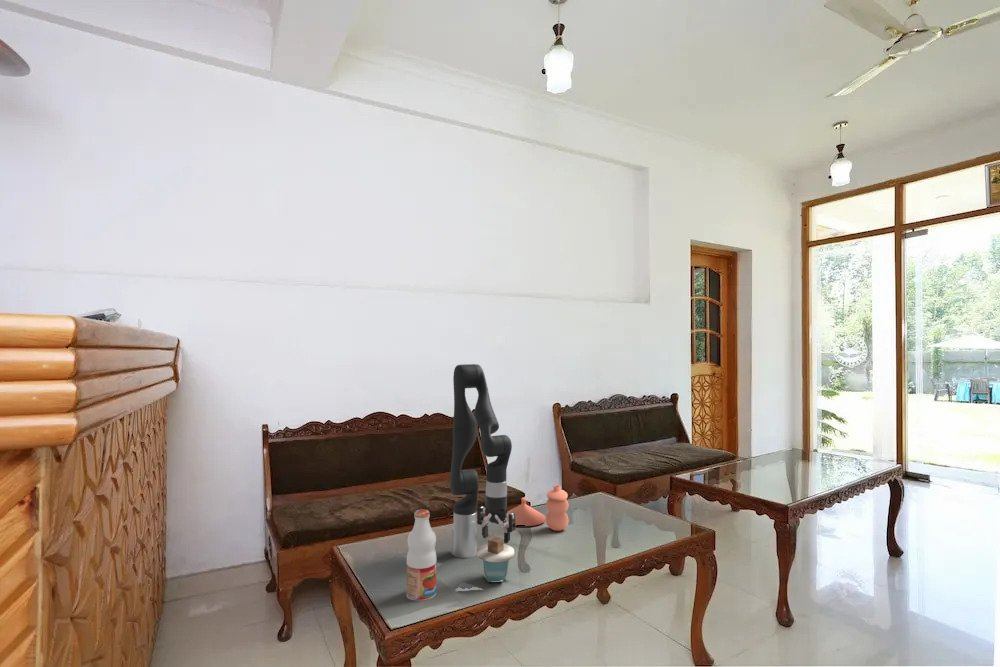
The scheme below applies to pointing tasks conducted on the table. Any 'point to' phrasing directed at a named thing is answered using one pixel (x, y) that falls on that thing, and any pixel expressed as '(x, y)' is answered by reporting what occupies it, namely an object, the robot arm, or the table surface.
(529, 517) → the ceramic vessels
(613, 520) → the table surface
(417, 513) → the fruit juice
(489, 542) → the lid
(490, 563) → the flower pot
